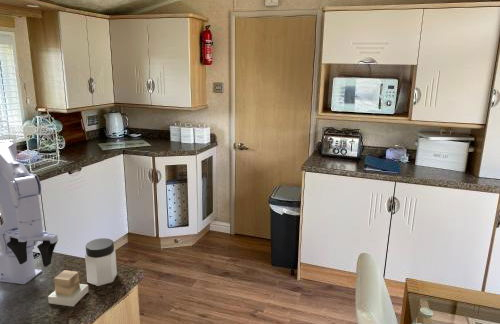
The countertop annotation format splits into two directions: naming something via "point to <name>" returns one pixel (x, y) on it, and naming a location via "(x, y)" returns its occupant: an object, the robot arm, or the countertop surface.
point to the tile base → (68, 297)
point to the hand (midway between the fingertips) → (35, 263)
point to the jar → (100, 261)
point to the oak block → (66, 283)
